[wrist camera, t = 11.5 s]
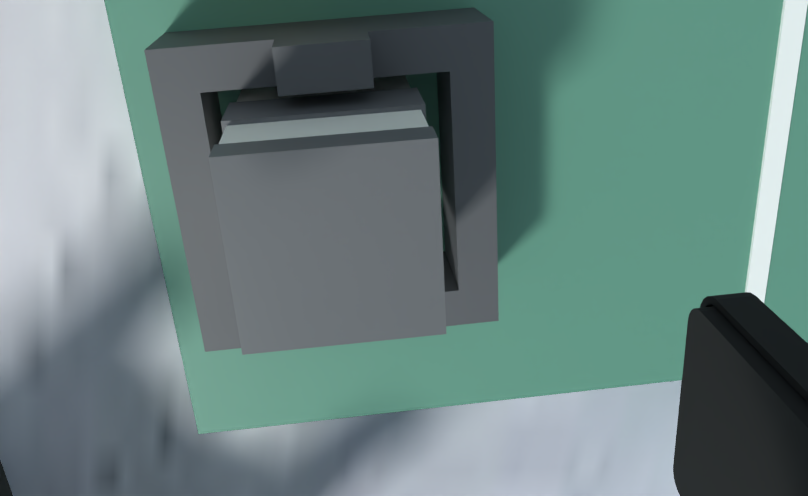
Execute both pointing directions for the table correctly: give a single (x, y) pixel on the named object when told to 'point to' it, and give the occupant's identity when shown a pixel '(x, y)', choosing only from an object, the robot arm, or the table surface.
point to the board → (496, 184)
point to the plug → (331, 216)
